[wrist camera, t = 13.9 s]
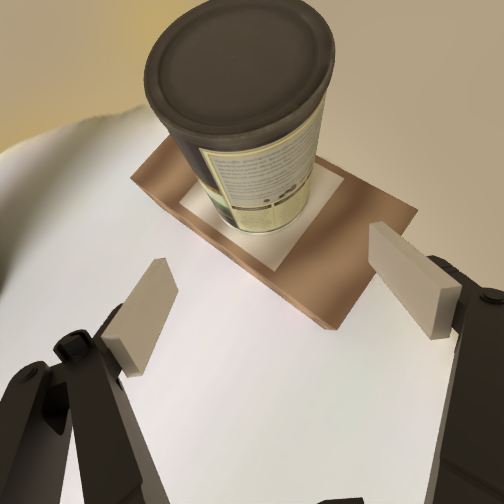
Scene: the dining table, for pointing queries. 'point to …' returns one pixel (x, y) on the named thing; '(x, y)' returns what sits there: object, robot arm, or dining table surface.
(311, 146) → the coffee can
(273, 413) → the dining table surface
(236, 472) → the dining table surface
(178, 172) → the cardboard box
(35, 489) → the robot arm
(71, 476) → the dining table surface
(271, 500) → the dining table surface
